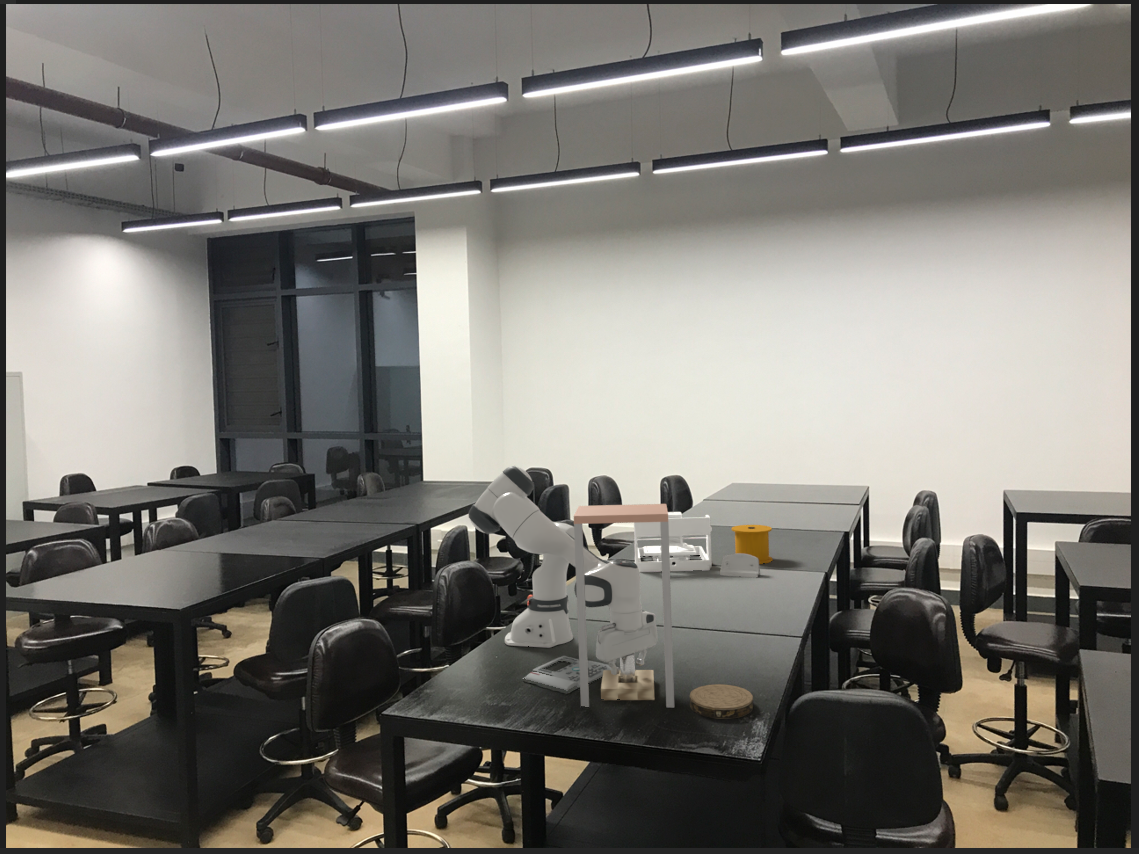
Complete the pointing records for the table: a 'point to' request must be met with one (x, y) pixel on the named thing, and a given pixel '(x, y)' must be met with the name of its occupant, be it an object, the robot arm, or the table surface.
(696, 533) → the 3d printer
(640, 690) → the socket block
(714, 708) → the wood slice
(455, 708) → the table surface
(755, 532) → the spool
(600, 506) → the pink-topped arch frame
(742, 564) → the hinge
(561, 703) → the table surface
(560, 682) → the office telephone
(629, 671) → the peg
